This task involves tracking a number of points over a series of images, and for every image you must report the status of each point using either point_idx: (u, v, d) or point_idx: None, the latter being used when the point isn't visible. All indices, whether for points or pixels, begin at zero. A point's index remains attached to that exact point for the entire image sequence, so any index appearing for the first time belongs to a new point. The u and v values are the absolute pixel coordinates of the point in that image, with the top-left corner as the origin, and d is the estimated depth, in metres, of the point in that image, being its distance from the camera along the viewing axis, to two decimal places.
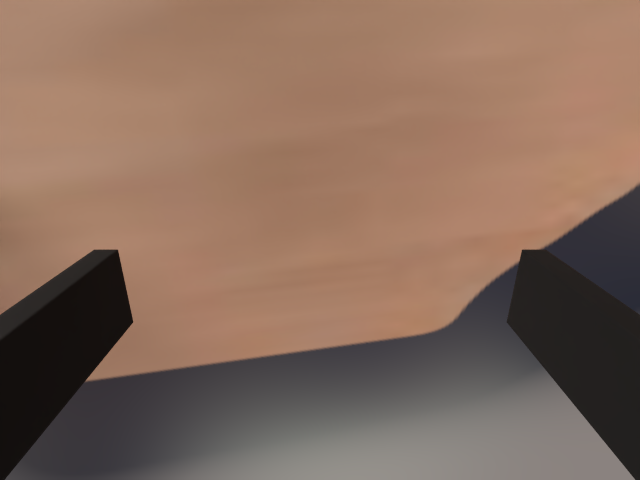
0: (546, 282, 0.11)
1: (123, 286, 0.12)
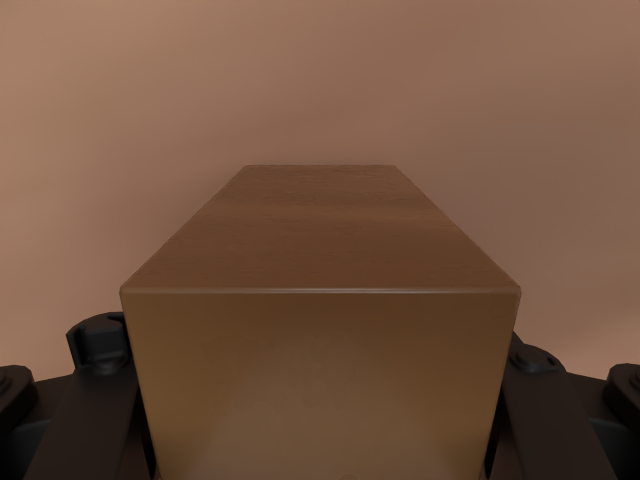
0: None
1: None
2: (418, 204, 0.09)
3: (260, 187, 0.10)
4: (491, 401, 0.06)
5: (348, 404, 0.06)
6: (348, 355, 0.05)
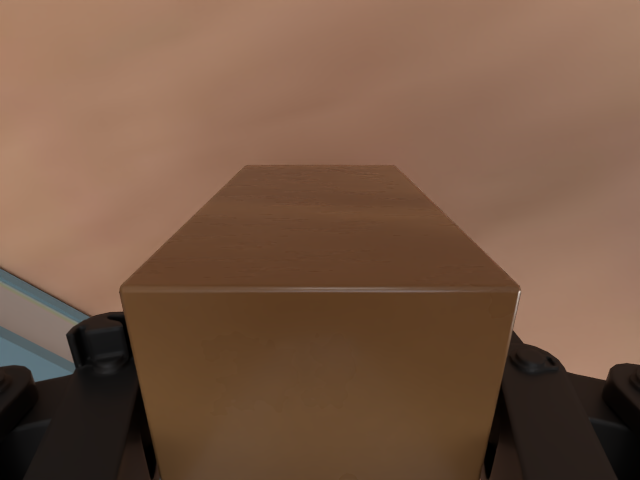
0: None
1: None
2: (418, 204, 0.09)
3: (260, 187, 0.10)
4: (491, 400, 0.06)
5: (348, 403, 0.06)
6: (348, 354, 0.05)
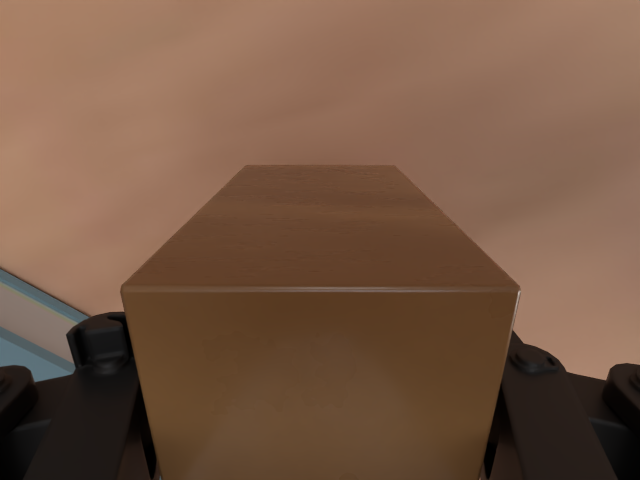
0: None
1: None
2: (418, 204, 0.09)
3: (260, 186, 0.10)
4: (490, 400, 0.06)
5: (348, 403, 0.06)
6: (348, 353, 0.05)
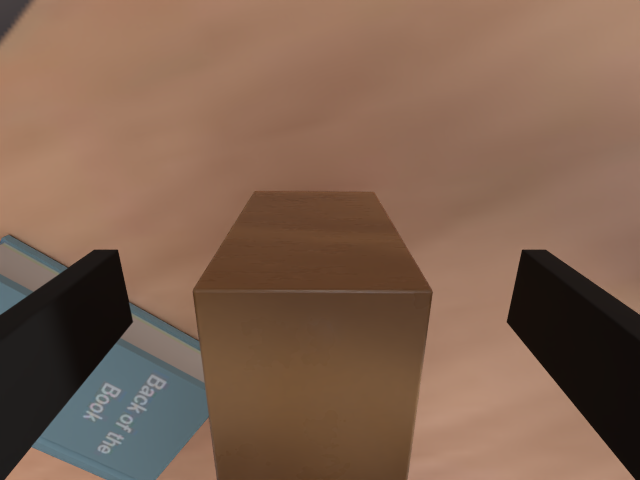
0: (546, 282, 0.11)
1: (124, 286, 0.12)
2: (384, 229, 0.12)
3: (269, 213, 0.14)
4: (418, 360, 0.09)
5: (330, 362, 0.09)
6: (330, 330, 0.09)
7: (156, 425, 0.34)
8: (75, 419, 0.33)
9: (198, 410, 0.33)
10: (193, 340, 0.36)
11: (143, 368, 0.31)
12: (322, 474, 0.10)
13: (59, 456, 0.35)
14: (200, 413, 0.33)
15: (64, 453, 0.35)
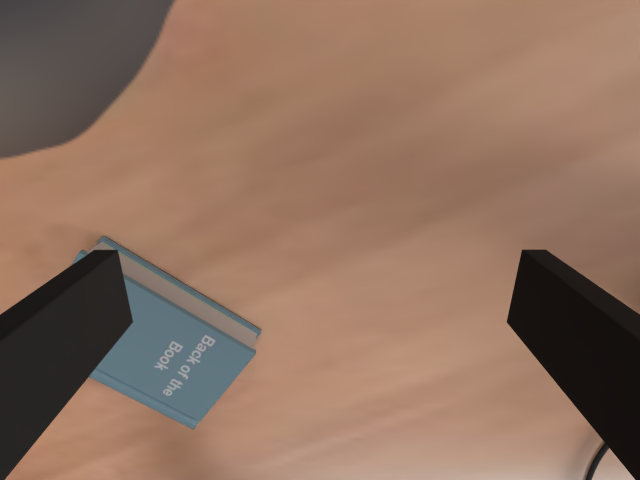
0: (545, 282, 0.11)
1: (124, 286, 0.12)
2: None
3: None
4: None
5: None
6: None
7: (206, 374, 0.47)
8: (149, 368, 0.46)
9: (236, 362, 0.46)
10: (231, 313, 0.49)
11: (199, 330, 0.44)
12: None
13: (134, 397, 0.48)
14: (238, 364, 0.46)
15: (138, 395, 0.48)
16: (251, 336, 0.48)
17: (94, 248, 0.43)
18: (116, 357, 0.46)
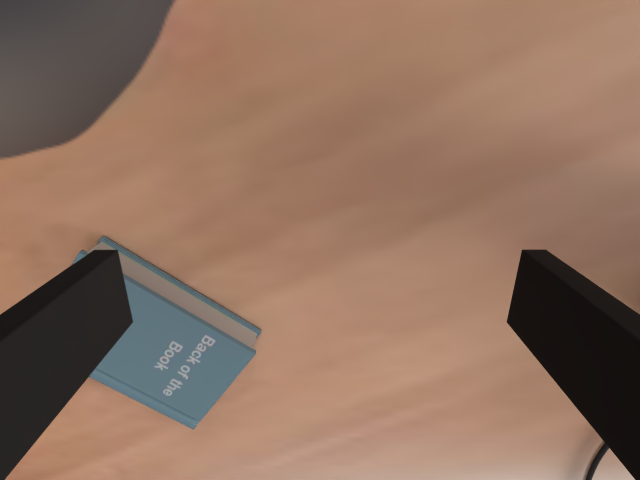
0: (545, 282, 0.11)
1: (124, 286, 0.12)
2: None
3: None
4: None
5: None
6: None
7: (206, 374, 0.47)
8: (149, 368, 0.46)
9: (236, 362, 0.46)
10: (231, 313, 0.49)
11: (199, 330, 0.44)
12: None
13: (134, 397, 0.48)
14: (238, 364, 0.46)
15: (138, 395, 0.48)
16: (251, 336, 0.48)
17: (94, 248, 0.43)
18: (116, 357, 0.46)
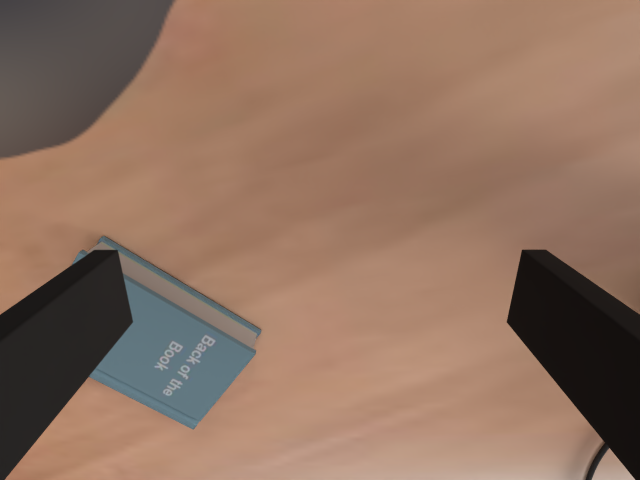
0: (545, 282, 0.11)
1: (124, 286, 0.12)
2: None
3: None
4: None
5: None
6: None
7: (206, 374, 0.47)
8: (149, 368, 0.46)
9: (236, 362, 0.46)
10: (231, 313, 0.49)
11: (199, 330, 0.44)
12: None
13: (134, 397, 0.48)
14: (238, 364, 0.46)
15: (138, 395, 0.48)
16: (251, 336, 0.48)
17: (94, 248, 0.43)
18: (116, 357, 0.46)
